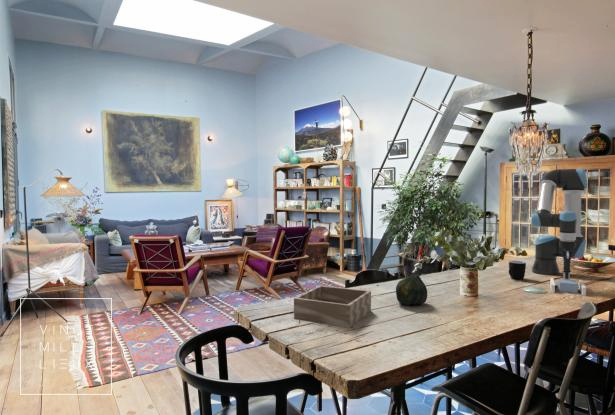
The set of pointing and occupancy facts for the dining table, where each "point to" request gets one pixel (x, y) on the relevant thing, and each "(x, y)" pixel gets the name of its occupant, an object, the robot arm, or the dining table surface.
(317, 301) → the planter box
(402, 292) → the squash
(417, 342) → the dining table surface
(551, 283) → the channel
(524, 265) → the mug
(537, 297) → the dining table surface
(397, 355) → the dining table surface
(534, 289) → the coaster
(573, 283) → the block
